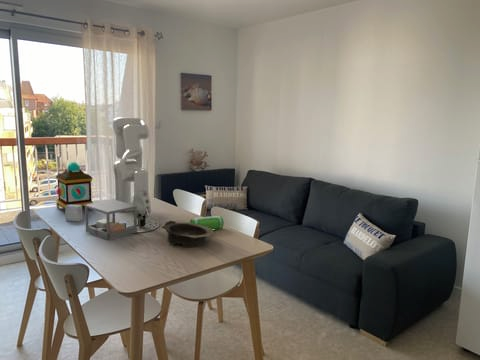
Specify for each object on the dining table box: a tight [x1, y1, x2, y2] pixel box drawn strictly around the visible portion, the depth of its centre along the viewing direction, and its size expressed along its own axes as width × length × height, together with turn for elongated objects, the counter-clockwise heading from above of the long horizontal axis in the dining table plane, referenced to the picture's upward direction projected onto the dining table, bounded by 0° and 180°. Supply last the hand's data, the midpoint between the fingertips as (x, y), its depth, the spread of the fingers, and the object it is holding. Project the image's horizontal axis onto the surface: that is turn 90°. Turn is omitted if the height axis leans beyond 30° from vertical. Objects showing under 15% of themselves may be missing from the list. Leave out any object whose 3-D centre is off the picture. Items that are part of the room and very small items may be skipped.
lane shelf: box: [84, 199, 138, 241], centre depth 190 cm, size 17×20×14 cm
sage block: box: [95, 218, 113, 229], centre depth 193 cm, size 6×6×5 cm
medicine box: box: [64, 205, 83, 223], centre depth 207 cm, size 8×4×9 cm, turn 84°
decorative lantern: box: [55, 161, 94, 210], centre depth 228 cm, size 20×20×30 cm
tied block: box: [110, 216, 146, 233], centre depth 193 cm, size 20×6×6 cm, turn 143°
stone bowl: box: [161, 220, 214, 248], centre depth 180 cm, size 25×25×9 cm
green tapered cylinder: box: [189, 215, 224, 230], centre depth 200 cm, size 18×7×8 cm, turn 116°
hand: (141, 225), depth 200 cm, fingers closed on tied block, 1 cm apart
